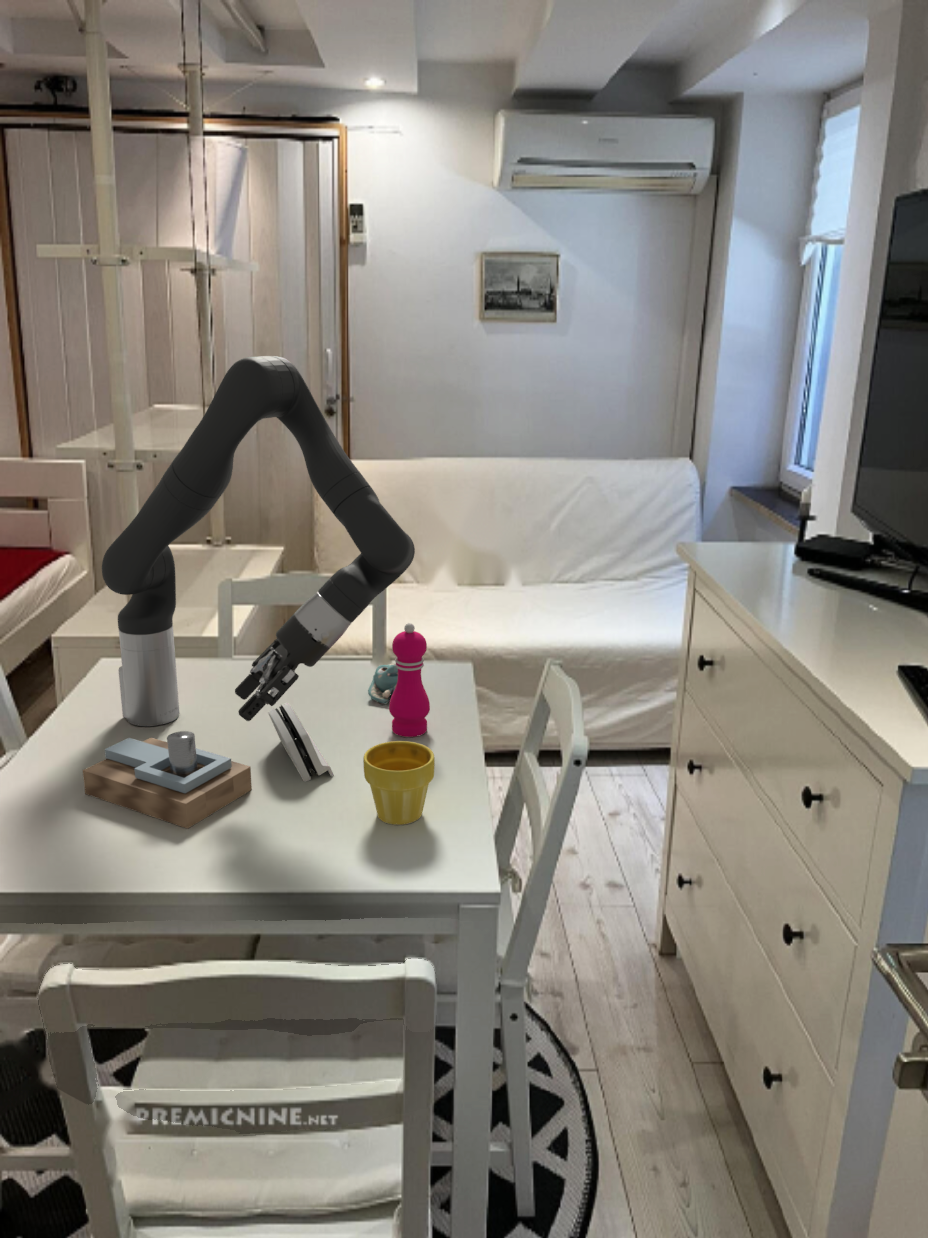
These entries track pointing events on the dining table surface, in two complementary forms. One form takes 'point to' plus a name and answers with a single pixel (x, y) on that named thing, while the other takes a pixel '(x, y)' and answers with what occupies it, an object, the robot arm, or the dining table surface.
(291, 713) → the white game console
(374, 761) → the plant pot
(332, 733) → the dining table surface
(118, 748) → the link
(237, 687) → the robot arm
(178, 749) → the pin
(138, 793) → the wooden block
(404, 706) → the pepper mill
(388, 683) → the stuffed animal
